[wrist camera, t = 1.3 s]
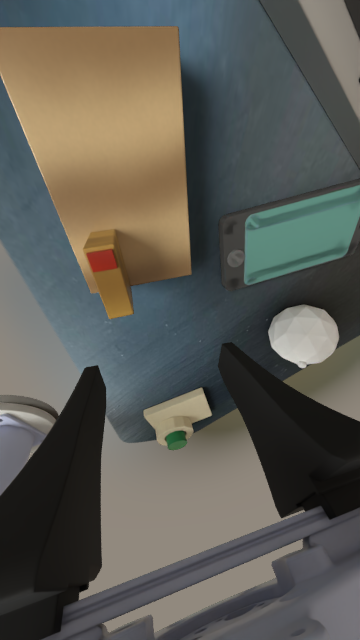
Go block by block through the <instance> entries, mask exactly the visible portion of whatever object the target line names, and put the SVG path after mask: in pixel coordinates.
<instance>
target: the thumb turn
mask: <svg viewBox="0 0 360 640" xmlns="http://www.w3.org/2000/svg"><path fill="white" fill-rule="evenodd" d="M83 252H84V255H85V257H86V260H87V263H88V265H89V268H90V270H91V273H92V275H93V278H94V281H95V283H96V286H97V288H98V291H99V294H100V296H101V299H102V301H103V304H104V306H105V309H106V312H107V314H108V317H109V319H112V318H117V317H122V316H127V315H131V314H134V309H133V300H132V292H131V286H130V283H129V279H128V275H127V271H126V268H125V264H124V260H123V257H122V253H121V249H120V245H119V242H118V238H117V234H116V231H115V229H111V230H104V231H98V232H91V233H90V234H89V237H88V239H87V241H86V243H85V245H84V248H83Z"/></svg>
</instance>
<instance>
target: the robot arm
mask: <svg viewBox="0 0 360 640" xmlns="http://www.w3.org/2000/svg"><path fill="white" fill-rule="evenodd" d="M218 368H219V370H220V373H221V376H222V378H223V381H224V383H225V385H226V387H227V389H228V391H229V393H230V394H231V396H232V398H233V400H234V402H235V404H236V406H237V408H238V410H239V411H240V413H241V415H242V417H243V419H244V422H245V424H246V426H247V429H248V431H249V433H250V436H251V438H252V441H253V443H254V446H255V449H256V451H257V454H258V456H259V459H260V462H261V465H262V467H263V470H264V472H265V476H266V479H267V482H268V485H269V488H270V491H271V493H272V497H273V500H274V503H275V506H276V508H277V510H278V512H279V515H280V517H281V518H283V517H286V516H289V515H291V514H294V513H296V512H299V511H301V510H305V512H303V513H301V514H298V515H296V516H293V517H291V518H288V519H285V520H283V521H281V522H278V523H275V524H273V525H270V526H268V527H265V528H262V529H260V530H257V531H255V532H252V533H250V534H247V535H245V536H242V537H240V538H237V539H234V540H232V541H229V542H227V543H224V544H222V545H219V546H217V547H214V548H211V549H209V550H206V551H204V552H201V553H199V554H197V555H194V556H191V557H189V558H186V559H184V560H181V561H178V562H176V563H173V564H171V565H168V566H166V567H163V568H160V569H158V570H155V571H153V572H150V573H148V574H145V575H143V576H140V577H138V578H135V579H133V580H130V581H127V582H125V583H122V584H120V585H117V586H115V587H112V588H110V589H107V590H104V591H102V592H99V593H97V594H94V595H92V596H89V597H87V598H84V599H81V600H79V592H82V591H84V590H87V589H88V587H89V582H90V581H93V580H94V579H95V578H96V577H97V575H98V573H99V571H100V569H101V567H102V557H101V511H100V510H101V507H100V506H101V505H100V504H101V503H100V501H101V498H100V497H101V494H100V493H101V485H100V483H101V450H102V442H103V432H104V423H105V413H106V387H105V384H104V381H103V378H102V376H101V373H100V370H99V367H98V365H97V366H91V367H86V368H85V369H84V371H83V373H82V375H81V377H80V379H79V381H78V383H77V385H76V387H75V389H74V391H73V393H72V395H71V396H70V398H69V400H68V402H67V403H66V406H65V407H64V409H63V410H62V412H61V414H60V415H59V417H58V419H57V420H56V422H55V423H54V425H53V427H52V428H51V430H50V431H49V433H48V434H45V433H44V432H42V431H40V430H38V429H36V428H34V427H32V426H30V425H29V424H27V423H25V422H23V421H21V420H19V419H17V418H16V417H14V416H12V415H10V414H2V415H0V640H360V422H359V421H357V420H355V419H352V418H350V417H348V416H345V415H343V414H341V413H339V412H337V411H335V410H332V409H330V408H328V407H326V406H324V405H322V404H320V403H318V402H316V401H315V400H313V399H311V398H309V397H307V396H305V395H303V394H302V393H300V392H298V391H297V390H295V389H293V388H292V387H290V386H288V385H287V384H285V383H284V382H282V381H281V380H279V379H278V378H276V377H275V376H274V375H272V374H271V373H269V372H268V371H267V370H265V369H264V368H263V367H261V366H260V365H259V364H257V363H256V362H255V361H254V360H252V359H251V358H250V357H249V356H247V355H246V354H245V353H244V352H243V351H241V350H240V349H239V348H238V347H237V346H235V345H234V344H233V343H232V342H230V343H224V344H222V347H221V353H220V358H219V363H218ZM39 444H40V446H39V447H38V448H37V450H36V451H35V453H34V454H33V455H32V457H31V458H30V459H29V461H28V458H29V455H30V452H31V448H32V447H34V446H36V445H39ZM27 461H28V462H27ZM303 538H304V539H303ZM301 539H303V548H302V549H301V550H298V551H295V552H292V553H290V554H287V555H285V556H283V557H281V558H279V559H277V560H275V561H273V562H272V567H273V569H274V573H275V575H276V578H275V579H272V580H270V581H268V582H265V583H263V584H260V585H258V586H255V587H253V588H251V589H248V590H246V591H244V592H241V593H238V594H236V595H234V596H231V597H229V598H227V599H224V600H222V601H220V602H217V603H215V604H213V605H211V606H209V607H206V608H204V609H202V610H200V611H198V612H196V613H194V614H192V615H190V616H188V617H186V618H183V619H181V620H179V621H177V622H175V623H173V624H171V625H169V626H167V627H165V628H163V629H161V630H159V631H157V632H155V633H154V629H153V617H152V616H151V615H148V616H145V617H143V618H140V619H137V620H135V621H133V622H130V623H128V624H125V625H124V626H121V627H119V628H117V629H115V630H113V631H111V632H110V633H109V632H108V631H107V629H106V626H105V625H104V624H102V623H104V622H106V621H109V620H111V619H114V618H116V617H118V616H121V615H123V614H125V613H128V612H130V611H133V610H135V609H137V608H140V607H142V606H145V605H147V604H149V603H151V602H153V601H156V600H159V599H161V598H163V597H166V596H168V595H171V594H173V593H175V592H178V591H180V590H182V589H185V588H187V587H189V586H192V585H194V584H197V583H199V582H201V581H203V580H206V579H208V578H211V577H213V576H215V575H218V574H220V573H222V572H225V571H227V570H229V569H232V568H234V567H237V566H239V565H241V564H244V563H246V562H249V561H251V560H253V559H256V558H258V557H260V556H263V555H265V554H267V553H270V552H272V551H274V550H277V549H279V548H282V547H284V546H286V545H289V544H291V543H293V542H296V541H298V540H301ZM78 600H79V601H78Z"/></svg>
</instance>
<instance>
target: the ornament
mask: <svg viewBox="0 0 360 640" xmlns="http://www.w3.org/2000/svg"><path fill="white" fill-rule="evenodd" d="M268 334H269V338H270V342H271V347H272V348H273V349H274V350H275V351H276V352H277V353H278V354H279V355H280V356H281V357H282V358H284V359H286V360H289V361H291V362H293V363H296V364H298V366H299V367H300V368H305V367H306V364H315V363H321V362H322V361H323V360H325V359H326V358H327V357H329V356H330V355H332V353H333V352H334V350H335V349H336V346H337V343H338V340H339V334H338V328H337V325H336V323H335V321H334V320H333V319H332V318H331V317H330V316H329V315H328V313H327V312H326V311H325V310H323V309H319V308H315V307H312V306H308V305H304V304H303V305H298V306H294V307H290V308H286V309H285V310H283V311H282V312H281V313H279V314H278V315H276V316H275V317H274V318H273V321H272V323H271V326H270V328H269V331H268Z"/></svg>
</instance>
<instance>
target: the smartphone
mask: <svg viewBox="0 0 360 640" xmlns="http://www.w3.org/2000/svg"><path fill="white" fill-rule="evenodd" d="M218 226H219V244H220V261H221V278H222V285H223V286H224V288H225V289H226V290H228V291H234V290H237V289H240V288H244V287H247V286H250V285H254V284H257V283H260V282H264V281H267V280H270V279H274V278H277V277H281V276H284V275H287V274H291V273H294V272H297V271H301V270H304V269H307V268H311V267H314V266H317V265H321V264H324V263H327V262H331V261H334V260H338V259H341V258H344V257H348V256H350V255H352V254H353V253H354V252H355V250H356V248H357V246H358V243H359V240H360V179H357V180H353V181H349V182H345V183H342V184H338V185H334V186H330V187H327V188H323V189H319V190H315V191H312V192H308V193H304V194H301V195H297V196H293V197H289V198H286V199H282V200H278V201H274V202H271V203H267V204H263V205H260V206H256V207H252V208H248V209H245V210H241V211H237V212H233V213H230V214H226V215H224V216H222V217H221V219H220V220H219V223H218Z"/></svg>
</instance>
